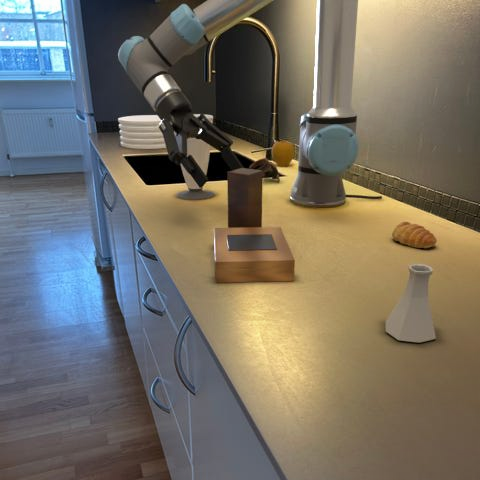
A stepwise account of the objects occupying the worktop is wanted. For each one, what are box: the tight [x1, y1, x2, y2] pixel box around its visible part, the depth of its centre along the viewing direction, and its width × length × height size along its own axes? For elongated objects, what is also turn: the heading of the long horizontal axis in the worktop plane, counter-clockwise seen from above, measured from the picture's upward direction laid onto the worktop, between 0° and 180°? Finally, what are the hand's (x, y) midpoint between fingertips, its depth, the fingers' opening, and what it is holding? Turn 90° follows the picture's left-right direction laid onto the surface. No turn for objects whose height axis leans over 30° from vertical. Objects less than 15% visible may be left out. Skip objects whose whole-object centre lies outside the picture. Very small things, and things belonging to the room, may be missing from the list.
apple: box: [270, 140, 295, 167], centre depth 189 cm, size 9×8×9 cm
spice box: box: [226, 167, 264, 228], centre depth 113 cm, size 6×6×14 cm
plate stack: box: [117, 114, 167, 150], centre depth 236 cm, size 28×28×12 cm
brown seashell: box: [248, 157, 281, 184], centre depth 165 cm, size 12×10×8 cm
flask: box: [384, 263, 437, 344], centre depth 72 cm, size 7×7×10 cm
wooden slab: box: [213, 226, 296, 284], centre depth 99 cm, size 14×20×4 cm
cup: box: [174, 113, 216, 201], centre depth 144 cm, size 12×12×22 cm
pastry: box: [391, 221, 438, 249], centre depth 109 cm, size 9×7×4 cm
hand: (223, 178), depth 114 cm, fingers open, 13 cm apart
